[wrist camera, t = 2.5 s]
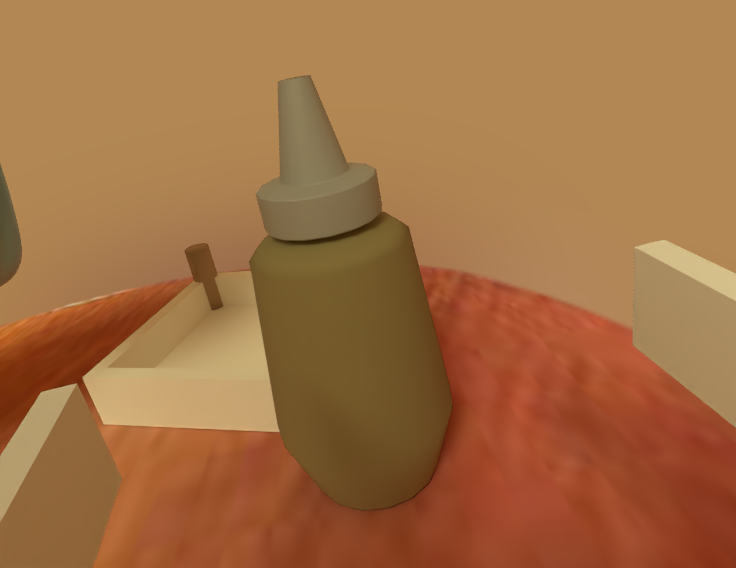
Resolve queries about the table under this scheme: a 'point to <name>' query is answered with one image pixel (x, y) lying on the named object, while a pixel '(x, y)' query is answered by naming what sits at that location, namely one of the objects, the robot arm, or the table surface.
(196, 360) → the tray
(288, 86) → the squeeze bottle
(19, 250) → the robot arm
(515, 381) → the table surface
